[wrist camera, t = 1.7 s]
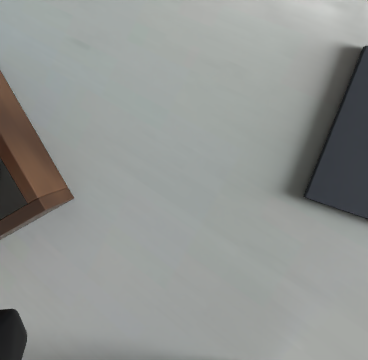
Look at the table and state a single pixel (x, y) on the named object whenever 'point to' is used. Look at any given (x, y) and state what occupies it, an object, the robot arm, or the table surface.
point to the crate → (27, 165)
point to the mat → (346, 150)
